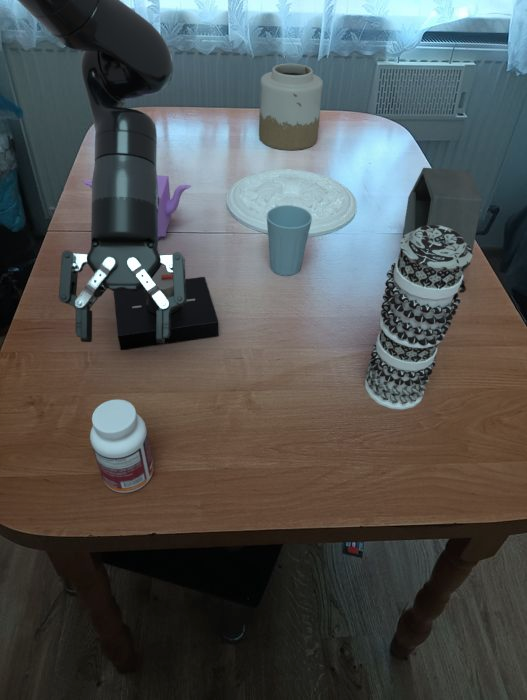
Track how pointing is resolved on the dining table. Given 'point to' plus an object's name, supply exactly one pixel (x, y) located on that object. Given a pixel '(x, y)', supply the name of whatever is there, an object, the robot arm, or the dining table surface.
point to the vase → (290, 107)
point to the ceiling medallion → (291, 199)
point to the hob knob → (166, 286)
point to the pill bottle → (121, 446)
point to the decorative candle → (416, 314)
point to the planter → (444, 203)
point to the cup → (287, 238)
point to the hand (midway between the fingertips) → (123, 342)
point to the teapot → (163, 202)
